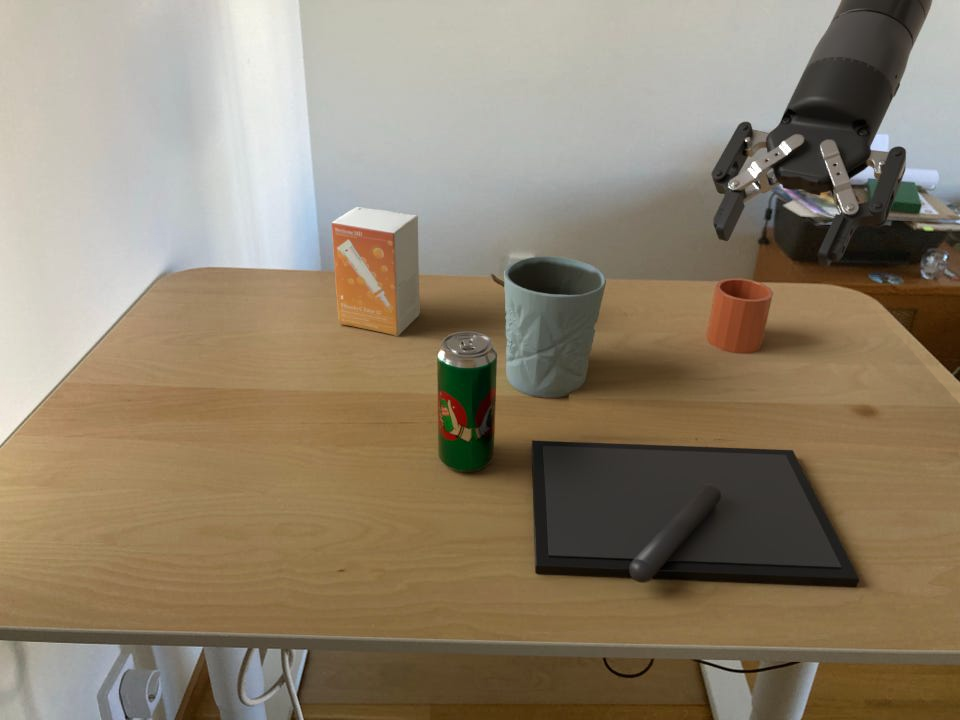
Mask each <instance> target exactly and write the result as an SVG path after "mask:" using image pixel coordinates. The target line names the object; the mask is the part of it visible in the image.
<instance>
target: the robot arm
mask: <svg viewBox="0 0 960 720" xmlns="http://www.w3.org/2000/svg"><path fill="white" fill-rule="evenodd" d="M932 5H933V0H840V2H839V5H838V7H837V9H836V11H835V13H834V15H833V16H832V19H831V22H830V23H829V25H828V27H827V29H826V31H825V32H824V33H823V35H822V36H821V37H820V39H819V41H818V43H817V44H816V46H815V47H814V50H813V52H812V54H811V56H810V58H809V60H808V62H807V64H806V66H805V68H804V70H803V72H802V74H801V77H800V79H799V81H798V83H797V84H796V87H795V89H794V91H793V93H792V95H791V97H790V99H789V101H788V103H787V105H786V107H785V110H784V112H783V115H782V116H781V119H780V122H779V123H778V125H777V126H776V127H775V128H773V129H772V130H771V131H770V132H766V131H761V130H757V129H754V128H753V126H752V123H751V122H749V121H742V122H740V123H739V124H738V125H737V127H736V128H735V130H734V132H733V134H732V135H731V137H730V139H729V141H728V142H727V144H726V146H725V147H724V149H723V152H722V154H721V155H720V157H719V159H718V161H717V162H716V164H715V166H714V168H713V169H712V170H711V174H710V176H711V179H712V182H713V184H714V188H715V190H716V192H717V193H718V194H720V195H723V197H722V200H721V202H720V204H719V205H718V209H717V210H716V212H715V214H714V216H713V220H712V221H713V222H712V225H713V227H714V230H715V233H716V235H717V238H718V240H720V241H724V242H728V241H729V240H730V238H731V236H732V234H733V232H734V230H735V228H736V227H737V223H738V222H739V220H740V218H741V215H742V214H743V212H744V209H745V208H746V207H745V206H746V205H745V203H746V202H747V201H749V200H751V199H752V198H754V197H756V196H757V195H759V194H766V193H769V192H770V191H772V190H773V189H774V188H776V187H779V185H782V188H783V189H786V190H791V191H802V190H803V191H804V192H806V193H808V194H811V195H815V196H821V195H822V194H825V193H828V192H829V193H830V195H831V197H832V200H833V202H834V206H835V208H836V209H837V212H838V213H839V214H838V213H835V215H834V217H833V219H832V221H831V224H830V226H829V228H828V230H827V233H826V235H825V236H824V239H823V241H822V243H821V245H820V247H819V250H818V253H817V259H818V260H817V261H818V266H822V267H826V268H829V267H830V266H831V263H832V262H835V263H838V262H839V261H840V260H841V259H842V258H843V256H844V254H845V251H846V249H847V247H848V245H849V243H850V241H851V239H852V237H853V234H854V232H855V231H856V230H857V229H859V228H860V227H863V226H871V227H873V228H875V229H879V228H880V229H881V228H882V227H884V226H885V225H886V224H887V221H888V219H889V216H890V213H891V210H892V208H893V205H894V202H895V200H896V197H897V194H898V192H899V188H900V185H901V183H902V180H903V178H904V176H905V172H906V165H907V149H905V147H903V146H899V145H897V146H894V147H892V148H891V149H889V151H882V150H874V149H872V148H871V146H872V144H873V142H874V140H875V138H876V136H877V134H878V131H879V129H880V127H881V125H882V123H883V120H884V118H885V116H886V114H887V111H888V110H889V108H890V105H891V104H892V101H893V99H894V97H896V95H897V93H898V91H899V89H900V86H901V81H902V79H903V76H904V74H905V71H906V68H907V65H908V62H909V58H910V54H911V52H912V50H913V48H914V46H915V43H916V41H917V40H918V37H919V35H920V33H921V31H922V28H923V26H924V24H925V21H926V20H927V18H928V15H929V12H930V11H931V7H932ZM760 149H766V153H765V154H763V155H761V156H760V157H758V158H757V159H755V160H754V161H752V162H751V164H750V165H749V167H748V168H747V169H745V170H744V171H742V172H741V170H742V169H743V167H744V165H745V163H746V162H747V160H748V158H749V157H750V158H753V157H754V156H755V154H756V153H758V151H759V150H760ZM869 167H870V168H872V169H873V177H874V179H876V180H877V183H876V186H875V188H874V190H873V193H872V195H871V198H870V202H864V203H863V202H862V203H859V202H858V200H857V197H856V195H855V192H854V189H853V187H852V183H851V179H852V178H854V177H856V176H857V175H859V174H860V173H862V172H863V171H866V169H867V168H869ZM771 169H772V171H771V172H770V170H771ZM768 172H769V173H768Z"/></svg>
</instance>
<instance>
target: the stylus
mask: <svg viewBox="0 0 960 720" xmlns="http://www.w3.org/2000/svg"><path fill="white" fill-rule="evenodd" d="M720 498H721V492H720V490H719V488H718V487H717V486H716V485H714V484H705V485H703V486H702V487H701V488H700V489H699V490H698V491H697V492H696V493H695V494H694V495H693V496H692V497H691V498H690V499H689V500H688V502H687V503H686V504H685V505H684V506H683V507H682V508H681V509H680V510H679V511H678V512H677V513H676V514H675V515H674V517H673V518H672V519H671V520H670V521H669V522H668V523H667V524H666V525H665V526H664V527H663V528H662V529H661V531H660V532H659V533H658V534H657V535H656V536H655V537H654V538H653V539H652V540H651V541H650V542H649V543H648V545H647V546H646V547H645V548H644V549H643V550H642V551H641V552H640V553H639V554H638V555H637V556H636V557H635V559H634V560H633V561H632V562H631V563H630V566H629V572H630V575H631V577H632V580H633V581H635V582H637V583H641V584H642V583H643V584H645V583H647V582H649V581H651V580H652V577H653V576H654V575H655V574H656V573H657V572H658V570H659V569H660V568H661V567H662V566H663V565H664V564H665V562H666V561H667V560H668V559H669V558H670V557H671V556H672V554H673V553H674V552H675V551H676V550H677V549H678V548H679V546H680V545H681V544H682V543H683V542H684V541H685V540H686V538H687V537H688V536H689V535H690V534H691V533H692V532H693V530H694V529H695V528H696V527H697V526H698V525H699V524H700V522H701V521H702V520H703V519H704V518H705V517H706V516H707V514H708V513H709V512H710V511H711V510H712V509H713V508H714V506H715V505H716V504H717V503H718V502H719V500H720Z"/></svg>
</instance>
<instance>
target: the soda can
mask: <svg viewBox="0 0 960 720" xmlns="http://www.w3.org/2000/svg"><path fill="white" fill-rule="evenodd" d="M436 366H437V367H436V369H437V371H436V373H437V374H436V375H437V377H436V378H437V443H438V444H437V451H438V452H437V454H438V458H439V460H440V462H441V463H442V464H443V465H445V466H446V467H447V468H449V469H451V470H452V471H455V472H459V473H474V472H478V471H480V470H482V469H484V468H485V467H487V466H488V465H489V464H490V463H491V462H492V460H493V459H494V456H495V435H496V434H495V433H496V432H495V431H496V429H495V428H496V406H497V405H496V402H497V400H496V399H497V374H498V373H497V372H498V352H497V351H496V349H495V348H494V343H493V340H492V339H491V338H490V337H489V336H488V335H486V334H484V333H480V332H476V331H458V332H453V333H450V334H448V335H446V336H445V337H444V338H442V341H441V346H440V348H439V349H438V350H437V354H436Z"/></svg>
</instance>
